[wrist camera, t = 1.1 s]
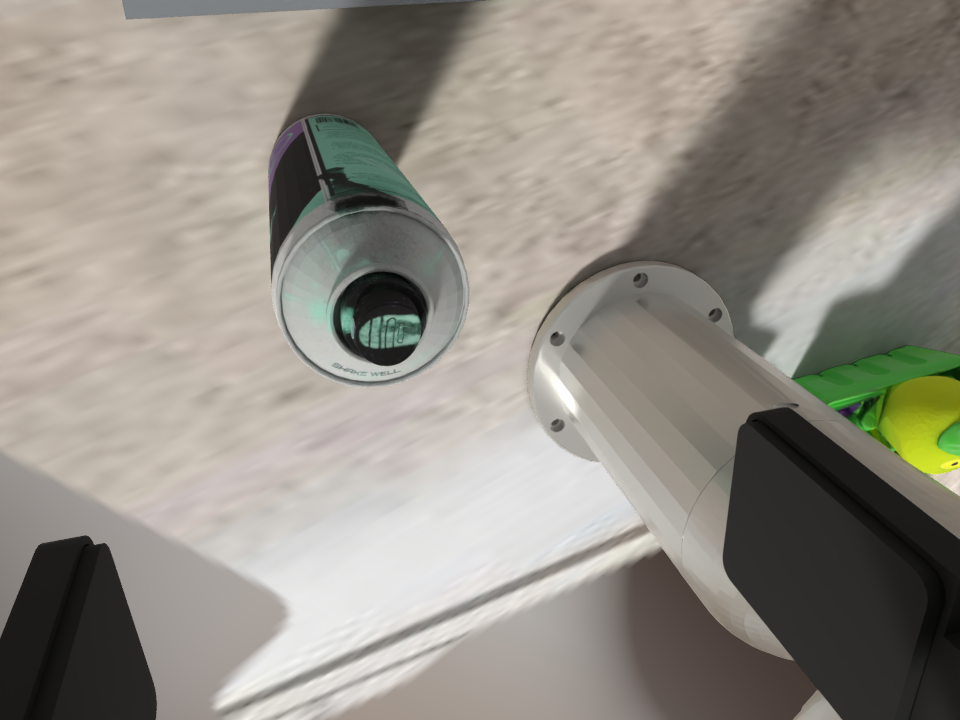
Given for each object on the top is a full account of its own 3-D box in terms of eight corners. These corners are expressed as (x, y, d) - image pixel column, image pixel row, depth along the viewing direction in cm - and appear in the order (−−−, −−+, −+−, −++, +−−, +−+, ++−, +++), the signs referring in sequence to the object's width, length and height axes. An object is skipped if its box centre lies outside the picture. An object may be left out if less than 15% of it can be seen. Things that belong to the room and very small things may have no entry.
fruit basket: (769, 466, 51) (890, 578, 42) (770, 351, 47) (903, 444, 38) (917, 419, 53) (1066, 516, 43) (929, 304, 49) (1097, 382, 39)
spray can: (245, 147, 35) (226, 297, 17) (351, 91, 35) (438, 184, 17) (306, 249, 37) (344, 468, 20) (405, 196, 38) (528, 369, 20)
